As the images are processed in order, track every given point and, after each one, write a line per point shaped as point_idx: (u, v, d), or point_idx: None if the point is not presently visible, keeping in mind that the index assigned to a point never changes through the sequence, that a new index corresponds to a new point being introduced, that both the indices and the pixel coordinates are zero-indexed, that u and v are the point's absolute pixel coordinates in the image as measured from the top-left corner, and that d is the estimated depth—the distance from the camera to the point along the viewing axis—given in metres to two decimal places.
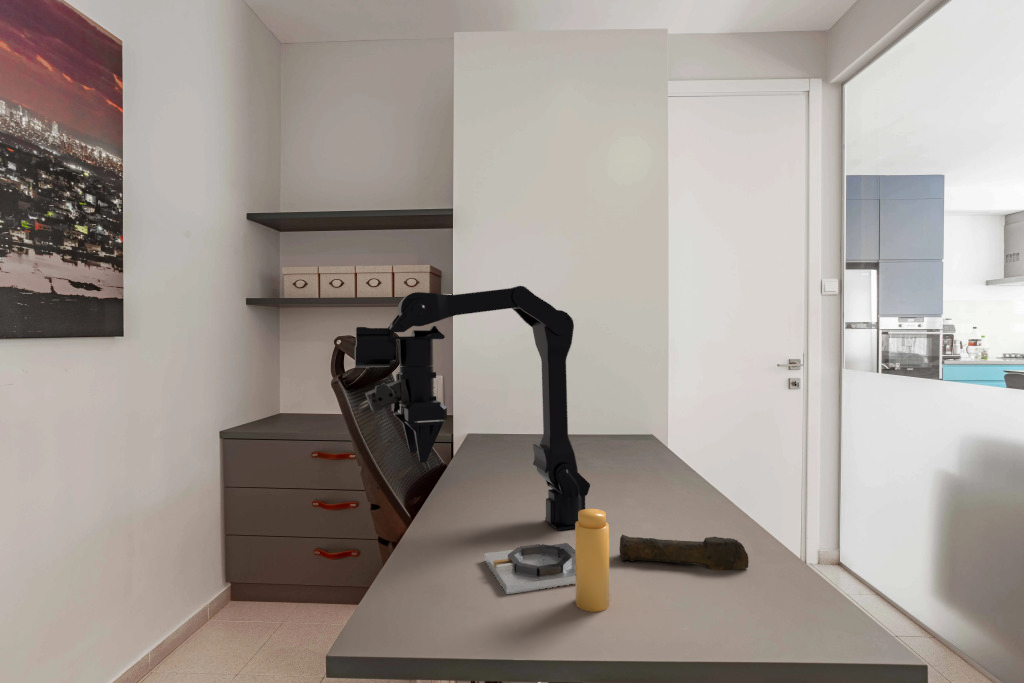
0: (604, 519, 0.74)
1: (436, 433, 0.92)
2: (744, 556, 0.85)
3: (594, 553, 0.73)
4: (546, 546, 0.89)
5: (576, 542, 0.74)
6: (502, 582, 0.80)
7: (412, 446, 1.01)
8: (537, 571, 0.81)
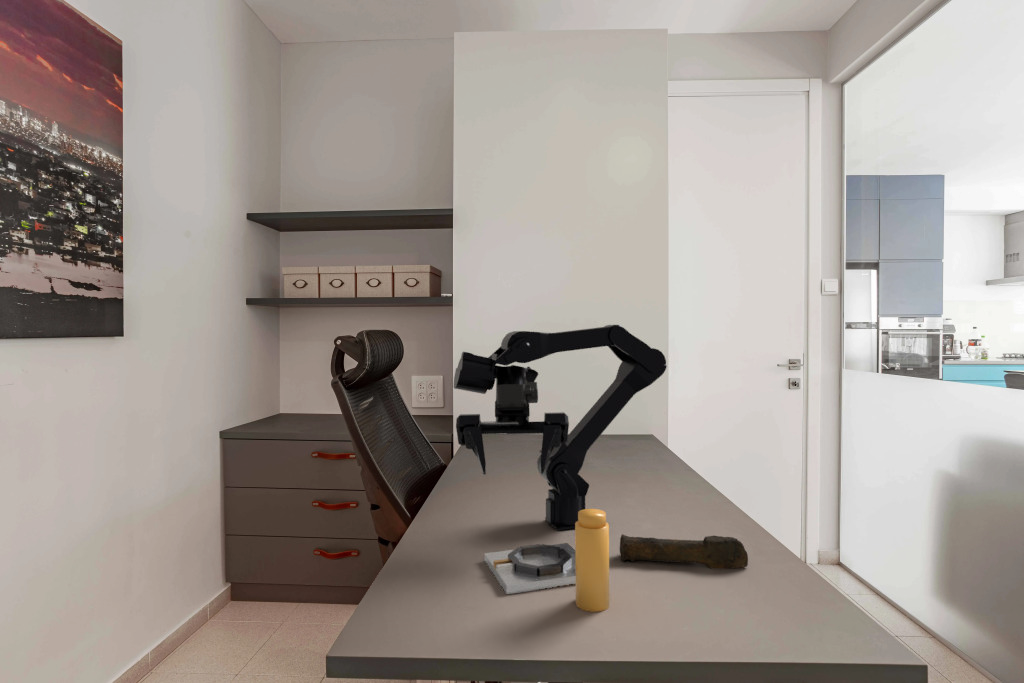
0: (604, 519, 0.74)
1: (550, 452, 0.95)
2: (744, 554, 0.86)
3: (594, 553, 0.73)
4: (546, 546, 0.89)
5: (576, 542, 0.74)
6: (502, 582, 0.80)
7: (485, 466, 0.91)
8: (537, 571, 0.81)
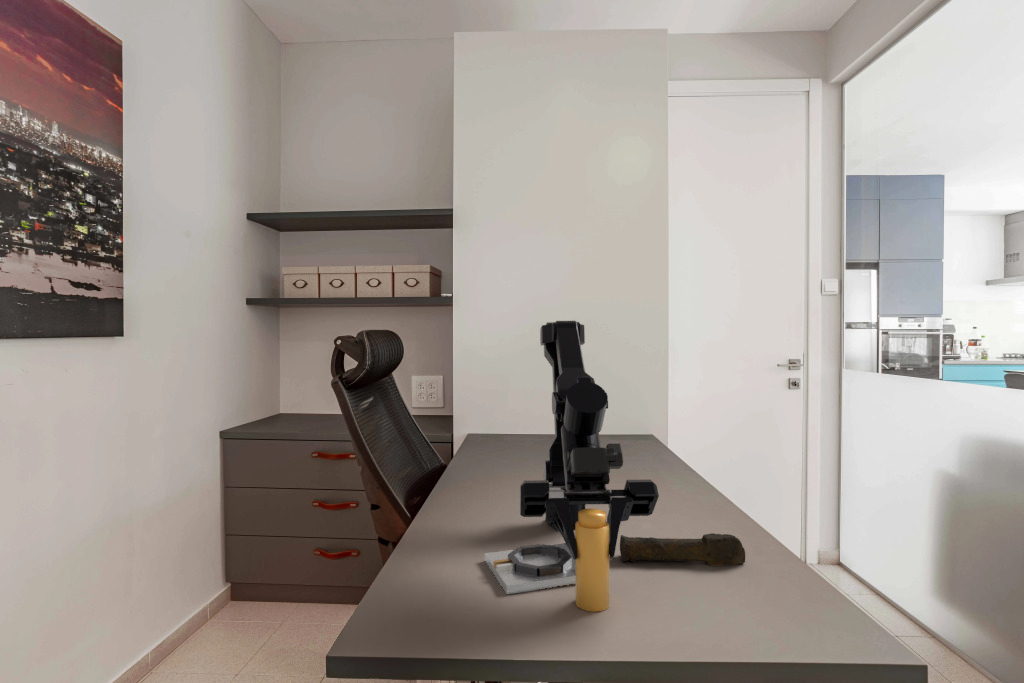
0: (604, 519, 0.74)
1: None
2: (741, 551, 0.87)
3: (594, 553, 0.73)
4: (546, 546, 0.89)
5: (576, 542, 0.74)
6: (502, 582, 0.80)
7: None
8: (537, 571, 0.81)
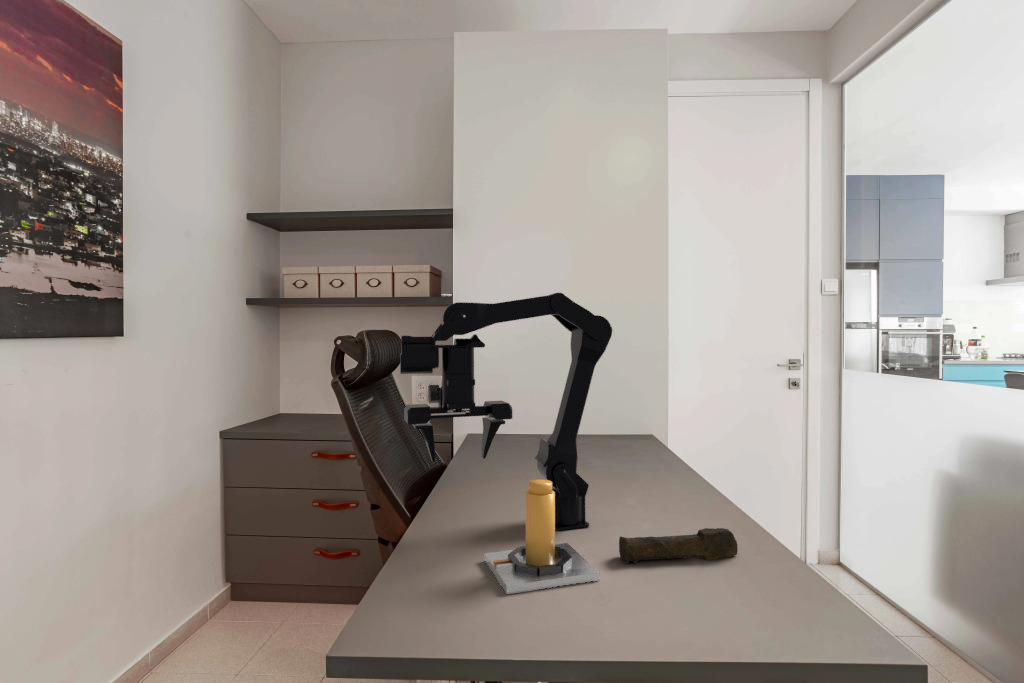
0: (548, 488, 0.84)
1: (425, 437, 0.98)
2: (734, 543, 0.90)
3: (536, 516, 0.83)
4: None
5: None
6: (502, 582, 0.80)
7: (482, 451, 1.03)
8: (537, 571, 0.81)
